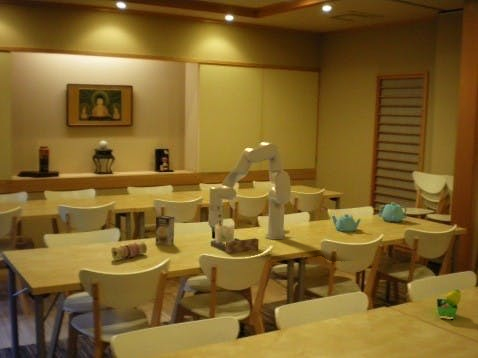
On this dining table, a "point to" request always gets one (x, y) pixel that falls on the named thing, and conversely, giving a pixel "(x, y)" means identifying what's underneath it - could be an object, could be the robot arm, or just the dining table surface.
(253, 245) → the guide track
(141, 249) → the scroll
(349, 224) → the teapot
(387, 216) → the decorative pot
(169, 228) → the coffee box
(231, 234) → the cable organizer
